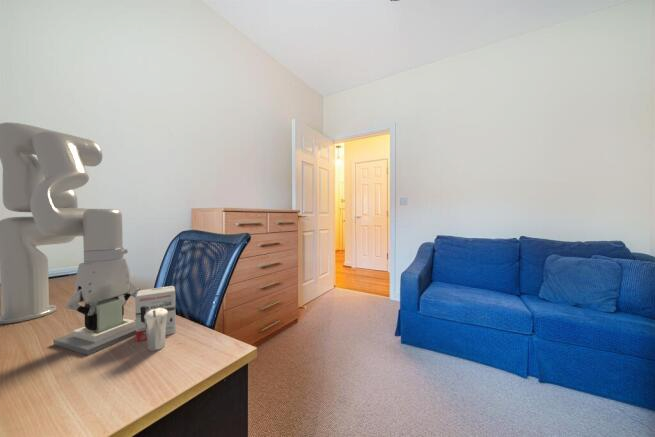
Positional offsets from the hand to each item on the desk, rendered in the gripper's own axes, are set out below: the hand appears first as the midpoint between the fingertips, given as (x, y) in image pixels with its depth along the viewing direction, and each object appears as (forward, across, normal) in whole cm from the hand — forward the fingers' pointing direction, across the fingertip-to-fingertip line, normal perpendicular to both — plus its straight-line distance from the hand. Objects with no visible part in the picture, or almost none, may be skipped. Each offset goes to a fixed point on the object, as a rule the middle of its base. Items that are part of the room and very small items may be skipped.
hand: (105, 323), depth 63 cm
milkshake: (+3, 0, +19) cm, 19 cm away
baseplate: (+3, 0, 0) cm, 3 cm away
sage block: (+1, 0, 0) cm, 1 cm away
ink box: (+3, -5, +12) cm, 14 cm away
